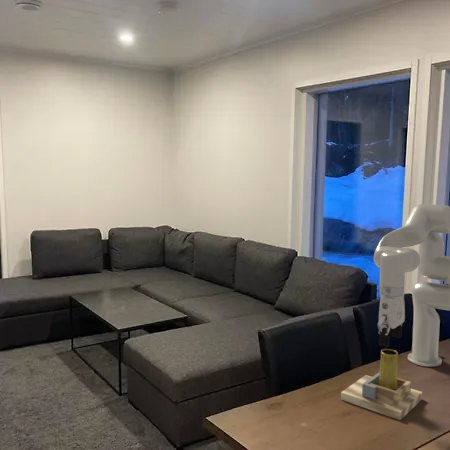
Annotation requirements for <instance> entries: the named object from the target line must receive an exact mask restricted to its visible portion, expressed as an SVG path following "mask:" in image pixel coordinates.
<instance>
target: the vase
mask: <svg viewBox="0 0 450 450" xmlns="http://www.w3.org/2000/svg"><path fill="white" fill-rule="evenodd" d="M398 357H399V352H398V351H397V350H394V349H390V348H389V349H388V348H383V349H381V350H380V362H379V363H380V364H379V372H380V376H379V386H382V387H385V388H388V389H391V390H394V391H396V390H397V378H398V363H399V362H398V360H399V359H398Z"/></svg>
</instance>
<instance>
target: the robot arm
mask: <svg viewBox="0 0 450 450" xmlns="http://www.w3.org/2000/svg"><path fill="white" fill-rule="evenodd" d="M440 234H450V205H447V204H446V205H444V204H430V203H429V204H427V203H426V204H424V203H423V204H417V205H415V206H414V207H413V208H412V209H411V211H410V213H409V215H408V217H407V218H406V220H405V222H404V224H403V225H402V226H401V227H399V228H397V229H395V230H392V231H391V232H389V233H387V234H386V235H384V236H383V237H382V238H381V239H380V240H379V242H378V244H377V246H376V248H375V249H374V254H373V262H374V264H375V266H376V267H378V268H379V296H380V300H379V308H378V309H379V311H378V322H377V331H378V345H379V346H380V347H384V348H389V347H390V334H389V333H390V331H391V337H394V338H398V339H401V338H402V335H403V333H402V332H403V331H402V329H403V323H404V322H405V319H406V314H405V313H406V309H405V307H406V306H405V284H406V283H405V282H406V281H405V280H406V277H405V276H406V273H409V272H410V273H411V272H413V271H415V270H416V269H417V268H418V274H419V276H420V277H422V278H424V279H429V280H437V281H443V282H447V283H448V284H445V283H444V284H443V283H437V282H430V281H419V282H417V283H415V284H414V285H413V287H412V289H411V290H412V291H411V295H412V296H411V297H412V305H413V324H412V346H411V351H412V352H410V353H408V354H407V360H408V361H409V362H411V364H415V365H418V366H420V367H421V366H422V367H430V368H433V367H439V366H441V365H442V363H443V360H442V358H441V357H440V356H439V341H440V340H439V339H440V323H441V319H440V315H439V313H438V312H437V311H436V309H437V310H445V311H450V256H448V255H444V251H445V242H444V239H443V238H442V236H441V235H440ZM417 245H420V246H419V247H420V248H419V252H418V251H417V250H415V249H413V248H408V247H412V246H413V247H414V246H417Z"/></svg>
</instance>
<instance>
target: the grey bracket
mask: <svg viewBox="0 0 450 450" xmlns="http://www.w3.org/2000/svg"><path fill="white" fill-rule="evenodd" d="M379 376H380V371H378V372H377V373H376V374H374V375H373V376H371V378H370V379H369V380H367V381H366V382H365V383H363V384H362V396H364V397H367V398H370V399H373V400H375V399H376V386H373V385H370V383H372V384H375V385H378V386H379Z"/></svg>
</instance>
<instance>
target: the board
mask: <svg viewBox="0 0 450 450" xmlns="http://www.w3.org/2000/svg"><path fill="white" fill-rule="evenodd" d="M371 377H372V376H370V375H367V374H365V375H364V376H362V377H360V378H359V379H358V380H356V381H354V382H353V383H352V384H350V385H349V386H348V387H346V388H345V389H344V390H342V391H340V400H342V401H343V402H347V403H350V404H353V405H355V406H358V407H361V408H364V409H367V410H369V411H372V412H375V413H379V414H381V415H383V416H387V417H389V418H393V419H394V420H395V419H396V420H398V421H402V419H404V417H405V416H406V415H408V414H409V412H411V411H412V409H414V407H415V408H416V406H417V405H418V404H419V403H420V402H421V401H422V400H423V391H420V390H417V389H414V388H412V381H410V380H406V379H404V378H403V379H402V378H401V377H397V390H396V391H394V390H391V389H388V388H385V387H382V386H378V385H375V384H372V383H370V385H373V386H376V399H375V400H373V399H370V398H367V397H364V396H362V384H363V383H365V382H366V381H367V380H369V379H370V378H371Z"/></svg>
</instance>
